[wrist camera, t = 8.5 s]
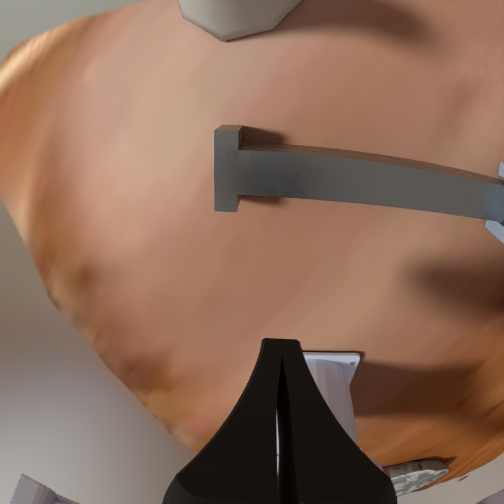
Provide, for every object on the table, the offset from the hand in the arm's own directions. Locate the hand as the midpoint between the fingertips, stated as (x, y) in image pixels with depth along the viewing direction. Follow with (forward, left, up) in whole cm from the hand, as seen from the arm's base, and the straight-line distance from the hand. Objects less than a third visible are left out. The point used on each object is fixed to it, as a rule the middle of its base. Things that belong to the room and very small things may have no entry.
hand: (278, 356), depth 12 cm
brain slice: (-47, -27, -10) cm, 55 cm away
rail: (+5, -9, -10) cm, 14 cm away
